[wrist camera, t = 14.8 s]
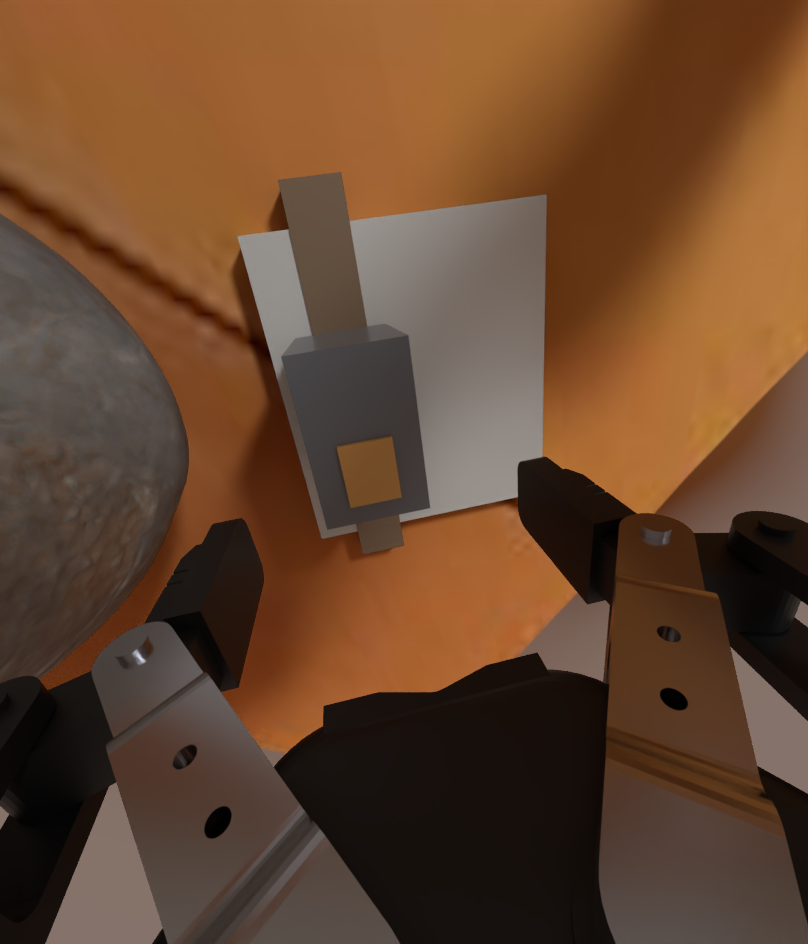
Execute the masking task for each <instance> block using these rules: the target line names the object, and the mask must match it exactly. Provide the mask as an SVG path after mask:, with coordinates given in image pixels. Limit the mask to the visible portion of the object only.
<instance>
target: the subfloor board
mask: <svg viewBox="0 0 808 944" xmlns="http://www.w3.org/2000/svg"><path fill="white" fill-rule="evenodd" d="M278 183H279V187H280V191H281V196H282V200H283V205H284V209H285V213H286V218H287V222H288V227H289V229H288V230H281V231H273V232H266V233H258V234H251V235H244V236H238V240H239V244H240V247H241V251H242V254H243V258H244V261H245V265H246V269H247V272H248V276H249V279H250V283H251V287H252V290H253V294H254V297H255V301H256V305H257V308H258V312H259V315H260V319H261V323H262V326H263V330H264V333H265V337H266V340H267V344H268V348H269V351H270V355H271V358H272V362H273V366H274V369H275V373H276V376H277V380H278V384H279V387H280V391H281V394H282V398H283V402H284V405H285V409H286V412H287V416H288V420H289V423H290V427H291V430H292V434H293V437H294V441H295V445H296V448H297V452H298V455H299V459H300V463H301V466H302V470H303V473H304V477H305V481H306V484H307V488H308V491H309V495H310V499H311V502H312V506H313V509H314V513H315V517H316V520H317V524H318V527H319V531H320V534H321V538H322V539H324V538H329V537H334V536H338V535H343V534H348V533H352V532H357V531H358V534H359V539H360V543H361V548H362V552H363V554H368V553H372V552H377V551H381V550H386V549H391V548H395V547H400V546H404V542H403V536H402V530H401V524H400V522H404V521H409V520H413V519H418V518H423V517H427V516H432V515H437V514H441V513H446V512H451V511H455V510H460V509H465V508H469V507H474V506H479V505H483V504H488V503H493V502H497V501H502V500H507V499H511V498H516V497H518V476H517V469H518V464H519V462H521V461H525V460H530V459H535V458H540V457H542V446H543V387H544V329H545V270H546V211H547V194H545V195H538V196H531V197H523V198H516V199H509V200H501V201H494V202H487V203H479V204H472V205H464V206H457V207H450V208H442V209H435V210H428V211H420V212H413V213H406V214H398V215H391V216H384V217H376V218H369V219H361V220H354V221H349V216H348V210H347V204H346V198H345V192H344V186H343V181H342V175H341V172H339V173H331V174H323V175H315V176H307V177H298V178H290V179H282V180H278ZM380 324H387V325H389V326H391V327H393V328H395V329H397V330H399V331H401V332H403V333H405V334H407V335H408V336H409V343H410V351H411V359H412V367H413V375H414V383H415V391H416V399H417V407H418V415H419V422H420V430H421V438H422V446H423V454H424V462H425V470H426V478H427V486H428V494H429V502H430V508H428V509H424V510H419V511H414V512H409V513H405V514H400V515H395V516H391V517H386V518H381V519H376V520H372V521H367V522H362V523H358V524H353V525H348V526H343V527H339V528H334V529H329V530H327V527H326V523H325V519H324V516H323V512H322V508H321V504H320V501H319V497H318V493H317V489H316V486H315V482H314V478H313V474H312V471H311V467H310V463H309V459H308V456H307V452H306V448H305V445H304V441H303V437H302V433H301V430H300V426H299V422H298V418H297V415H296V411H295V407H294V403H293V400H292V396H291V392H290V388H289V385H288V381H287V377H286V373H285V370H284V366H283V362H282V358H281V356H282V355H283V353H284V352H285V351H286V350H287V348H288V347H289V346H290V345H291V343H292V342H293V341H294V339H295V338H300V337H307V336H313V335H319V334H325V333H331V332H337V331H343V330H350V329H356V328H362V327H368V326H374V325H380Z"/></svg>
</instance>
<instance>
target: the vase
mask: <svg viewBox="0 0 808 944" xmlns="http://www.w3.org/2000/svg"><path fill="white" fill-rule="evenodd" d="M188 466H189V448H188V440H187V434H186V430H185V427H184V424H183V420H182V416H181V413H180V410H179V407H178V404H177V402H176V399H175V397H174V394H173V392H172V390H171V388H170V386H169V384H168V382H167V380H166V378H165V376H164V374H163V372H162V371H161V369H160V367H159V365H158V364H157V362H156V360H155V359H154V357H153V356H152V354H151V353H150V351H149V350H148V348H147V347H146V345H145V344H144V342H143V341H142V340H141V338H140V337H139V336H138V335H137V333H136V332H135V331H134V329H133V328H132V327H131V325H130V324H129V323H128V322H127V320H126V319H125V318H124V317H123V316H122V315H121V313H120V312H119V311H118V310H117V309H116V308H115V307H114V306H113V305H112V304H111V302H110V301H109V300H108V299H107V298H106V297H105V296H104V295H103V294H102V293H101V292H100V291H99V290H98V289H97V288H96V287H95V286H94V285H93V284H92V283H91V282H90V281H89V280H88V279H87V278H86V277H85V276H84V275H83V274H81V273H80V272H79V271H78V270H77V269H76V268H75V267H74V266H72V265H71V264H70V263H69V262H68V261H67V260H65V259H64V258H63V257H62V256H60V255H59V254H58V253H57V252H55V251H54V250H52V249H51V248H50V247H48V246H47V245H45V244H44V243H43V242H41V241H40V240H38V239H37V238H36V237H34V236H33V235H31V234H30V233H29V232H27V231H26V230H24V229H22V228H21V227H19V226H18V225H16V224H15V223H13V222H12V221H10V220H9V219H7V218H6V217H4V216H3V215H1V214H0V684H1V683H3V682H5V681H8V680H11V679H14V678H17V677H22V676H34V677H36V678H38V679H39V680H40V679H41V678H42V677H43V676H45V675H46V674H47V673H48V672H50V671H51V670H52V669H53V668H55V667H56V666H57V665H58V664H59V663H61V662H62V661H63V660H64V659H65V658H66V657H67V656H68V655H69V654H70V653H72V652H73V651H74V650H75V649H76V648H77V647H79V646H80V645H81V644H82V643H84V642H85V641H86V640H87V639H88V638H89V637H90V636H91V635H93V634H94V633H95V632H96V631H97V630H98V629H99V628H100V627H101V626H102V625H103V624H104V623H105V622H106V621H107V620H108V619H109V618H110V617H111V616H112V615H113V614H114V613H115V612H116V611H117V610H118V608H119V607H120V606H121V605H122V604H123V602H124V601H125V600H126V599H127V597H128V596H129V595H130V594H131V592H132V591H133V590H134V588H135V587H136V586H137V584H138V583H139V582H140V581H141V580H142V579H143V577H144V576H145V574H146V573H147V572H148V570H149V569H150V567H151V565H152V563H153V562H154V560H155V557H156V555H157V553H158V551H159V550H160V548H161V546H162V543H163V541H164V539H165V537H166V534H167V532H168V529H169V526H170V523H171V521H172V518H173V515H174V513H175V511H176V509H177V505H178V503H179V501H180V498H181V495H182V492H183V489H184V486H185V484H186V479H187V474H188Z"/></svg>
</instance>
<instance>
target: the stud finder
mask: <svg viewBox="0 0 808 944" xmlns="http://www.w3.org/2000/svg"><path fill="white" fill-rule="evenodd" d="M281 358H282V362H283V366H284V370H285V373H286V377H287V381H288V385H289V388H290V392H291V396H292V400H293V403H294V407H295V411H296V415H297V418H298V422H299V426H300V430H301V433H302V437H303V441H304V445H305V448H306V452H307V456H308V459H309V463H310V467H311V471H312V474H313V478H314V482H315V486H316V489H317V493H318V497H319V501H320V504H321V508H322V512H323V516H324V519H325V523H326V527H327V530H329V529H334V528H339V527H343V526H348V525H353V524H358V523H362V522H367V521H372V520H376V519H381V518H386V517H391V516H395V515H400V514H405V513H409V512H414V511H419V510H424V509H428V508H430V502H429V494H428V486H427V478H426V470H425V462H424V454H423V446H422V438H421V430H420V422H419V415H418V407H417V399H416V391H415V383H414V375H413V367H412V359H411V351H410V343H409V336H408V335H407V334H405V333H403V332H401V331H399V330H397V329H395V328H393V327H391V326H389V325H387V324H380V325H374V326H368V327H362V328H356V329H350V330H343V331H337V332H331V333H325V334H319V335H313V336H307V337H300V338H295V339H294V341H293V342H292V343H291V345H290V346H289V347H288V348H287V350H286V351H285V352H284V353H283V355H282V356H281Z"/></svg>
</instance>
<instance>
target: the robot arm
mask: <svg viewBox="0 0 808 944" xmlns="http://www.w3.org/2000/svg"><path fill="white" fill-rule="evenodd" d="M517 476H518V511H519V516H520V519H521V522H522V524H523V526H524V527H525V529H526V530H527V531H528V532H529V534H530V535H531V536H532V537H533V538H534V540H535V541H536V542H537V543H538V545H539V546H540V547H541V548H542V549H543V551H544V552H545V553H546V554H547V556H548V557H549V558H550V559H551V560H552V562H553V563H554V564H555V565H556V567H557V568H558V569H559V570H560V572H561V573H562V574H563V575H564V576H565V578H566V579H567V580H568V581H569V583H570V584H571V585H572V586H573V587H574V589H575V590H576V591H577V592H578V594H579V595H580V596H581V597H582V598H583V600H584V601H585V602H586V603H587V604H591V603H595V602H599V601H603V600H606V601H607V602H608V603H609V605H610V609H609V618H608V630H607V643H606V655H605V666H604V678H603V682H602V681H599V680H597V679H594V678H591V677H588V676H585V675H582V674H578V673H573V672H568V671H561V670H547V669H546V667H545V665H544V663H543V661H542V660H541V658H540V656H539V655H538V653H534V654H530V655H526V656H522V657H518V658H514V659H510V660H506V661H502V662H498V663H494V664H490V665H486V666H484V667H483V668H481V669H479V670H477V671H475V672H473V673H472V674H470V675H468V676H466V677H464V678H462V679H461V680H459V681H457V682H455V683H453V684H451V685H449V686H448V687H446V688H444V689H442V690H440V691H437V692H378V693H374V694H370V695H366V696H362V697H358V698H354V699H350V700H346V701H342V702H338V703H334V704H330V705H326V706H324V713H323V727H321V728H319V729H317V730H316V731H314V732H313V733H311V734H310V735H308V736H307V737H305V738H304V739H302V740H301V741H300V742H299V743H297V744H296V745H295V746H294V747H293V748H291V749H290V750H289V751H288V752H287V753H286V754H285V755H284V756H283V757H282V758H281V759H280V760H279V761H278V762H277V764H276V765H275V766H274V767H273V766H272V764H271V763H270V761H269V760H268V759H267V757H266V756H265V754H264V753H263V751H262V750H261V749H260V747H259V746H258V744H257V743H256V741H255V740H254V739H253V737H252V736H251V734H250V733H249V732H248V730H247V729H246V727H245V726H244V724H243V723H242V722H241V720H240V719H239V717H238V716H237V715H236V713H235V712H234V710H233V709H232V707H231V706H230V705H229V703H228V702H227V700H226V699H225V698H224V696H223V695H222V693H221V692H222V691H226V690H230V689H234V688H238V687H239V683H240V679H241V675H242V671H243V667H244V663H245V658H246V654H247V650H248V646H249V642H250V638H251V634H252V629H253V625H254V621H255V617H256V613H257V609H258V604H259V600H260V596H261V592H262V588H263V583H264V574H263V567H262V563H261V561H260V558H259V555H258V553H257V550H256V547H255V545H254V542H253V539H252V537H251V534H250V532H249V529H248V526H247V524H246V522H245V521H244V520H243V519H242V518H240V519H235V520H230V521H225V522H220V523H215V524H213V525H212V526H211V528H210V530H209V532H208V534H207V536H206V537H205V539H204V541H203V543H202V544H200V545H196V546H195V547H194V548H193V549H192V550H190V551H189V552H188V553H187V554H186V555H185V556H184V557H183V558H182V559H181V560H180V562H179V564H178V566H177V567H176V569H175V571H174V575H172V576H171V578H170V580H169V581H168V583H167V587H165V588H164V590H163V592H162V594H161V595H160V597H159V599H158V601H157V602H156V604H155V606H154V608H153V609H152V611H151V613H150V615H149V616H148V618H147V620H146V622H145V623H144V624H143V625H140V626H137V627H135V628H133V629H131V630H129V631H127V632H125V633H124V634H122V635H121V636H119V637H118V638H116V639H115V640H114V641H112V642H111V643H110V644H109V645H108V646H107V647H106V648H105V649H104V650H103V651H102V652H101V653H100V654H99V656H98V657H97V658H96V660H95V662H94V664H93V666H92V671H90V672H88V673H86V674H84V675H81V676H79V677H77V678H75V679H72V680H70V681H68V682H66V683H64V684H61V685H59V686H57V687H55V688H52V689H50V690H47V689H46V688H45V686H44V685H43V684H42V683H41V682H40V680H39V679H38V678H36V677H34V676H22V677H17V678H14V679H11V680H8V681H5V682H3V683H1V684H0V806H1V807H2V808H3V809H4V810H5V811H6V812H8V813H9V816H8V817H7V819H6V821H5V823H4V824H3V826H2V828H1V830H0V944H45V943H46V941H47V938H48V936H49V933H50V931H51V928H52V926H53V923H54V921H55V918H56V916H57V913H58V911H59V908H60V906H61V903H62V901H63V898H64V896H65V894H66V891H67V888H68V886H69V884H70V881H71V879H72V876H73V874H74V871H75V869H76V866H77V864H78V861H79V859H80V856H81V854H82V852H83V849H84V847H85V844H86V842H87V839H88V836H89V834H90V832H91V829H92V827H93V824H94V822H95V819H96V817H97V814H98V812H99V810H100V807H101V805H102V802H103V800H104V797H105V795H106V792H107V790H108V787H109V786H110V785H112V784H114V783H116V782H117V785H118V788H119V791H120V795H121V798H122V801H123V804H124V807H125V810H126V813H127V817H128V820H129V823H130V826H131V829H132V832H133V836H134V839H135V842H136V845H137V848H138V851H139V855H140V858H141V861H142V864H143V867H144V870H145V873H146V876H147V880H148V883H149V886H150V889H151V892H152V895H153V899H154V902H155V905H156V908H157V911H158V914H159V917H160V921H161V923H162V927H163V929H162V930H161V931H160V933H159V934H158V936H157V937H156V939H155V940H154V942H153V943H152V944H808V794H807V793H805V792H804V791H802V790H800V789H798V788H796V787H794V786H793V785H791V784H789V783H787V782H785V781H784V780H782V779H780V778H778V777H776V776H775V775H773V774H771V773H769V772H767V771H765V770H764V769H762V768H760V767H758V766H757V763H756V759H755V754H754V750H753V745H752V741H751V737H750V733H749V728H748V723H747V719H746V715H745V710H744V706H743V701H742V697H741V692H740V688H739V683H738V679H737V675H736V670H735V666H734V662H733V657H732V653H731V648H733V650H735V651H736V652H737V653H738V654H739V655H740V656H741V657H742V658H743V659H744V660H745V661H746V662H747V663H748V664H749V665H750V666H751V667H752V668H753V669H754V670H755V671H756V672H757V673H758V674H760V675H761V676H762V677H763V678H764V679H765V680H766V681H767V682H768V683H769V684H770V685H771V686H772V687H773V688H774V689H775V690H776V691H777V692H778V693H779V694H780V695H781V696H782V697H783V698H784V699H785V700H786V701H787V702H788V703H790V704H791V705H792V706H793V707H794V708H795V709H796V710H797V711H798V712H799V713H800V714H801V715H802V716H803V717H804V718H805V719H806V720H807V721H808V627H807V626H805V625H804V624H802V623H801V622H800V621H798V620H797V619H796V618H795V614H796V612H797V609H798V607H799V604H800V602H801V601H802V602H804V603H806V604H807V605H808V523H806V522H804V521H802V520H799V519H797V518H794V517H791V516H787V515H783V514H779V513H773V512H766V511H750V512H744V513H740V514H738V515H736V516H735V517H734V518H733V520H732V524H731V528H730V532H729V533H693V531H692V530H691V529H690V528H689V527H688V526H687V525H685V524H684V523H682V522H680V521H678V520H676V519H674V518H671V517H668V516H664V515H659V514H651V513H640V514H637V513H635V512H634V511H632V510H631V509H630V508H628V507H627V506H626V505H624V504H623V503H621V502H620V501H619V500H617V499H616V498H615V497H613V496H612V495H610V494H609V493H608V492H606V493H605V490H603V489H602V488H601V487H599V486H598V485H595V483H594V482H592V481H591V480H590V479H588V478H587V477H586V476H584V475H583V474H580V473H577V472H574V471H571V470H569V469H562V468H560V467H559V466H558V465H557V464H555V463H554V462H553V461H551V460H550V459H549V458H547V457H540V458H535V459H530V460H525V461H521V462H519V464H518V469H517ZM730 647H731V648H730Z"/></svg>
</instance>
